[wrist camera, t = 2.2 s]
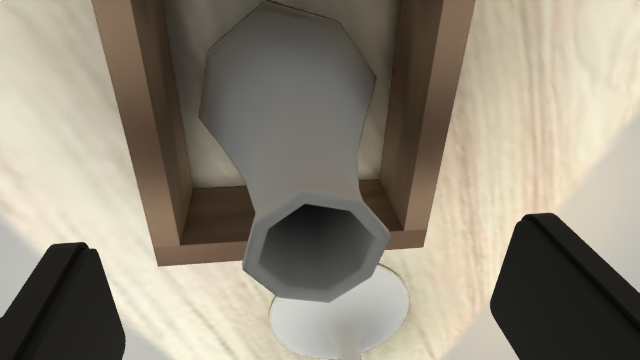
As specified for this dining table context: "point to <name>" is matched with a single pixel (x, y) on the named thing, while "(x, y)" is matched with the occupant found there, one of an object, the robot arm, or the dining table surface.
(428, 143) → the frame
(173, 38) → the dining table surface
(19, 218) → the dining table surface
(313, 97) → the flask
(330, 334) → the wineglass
